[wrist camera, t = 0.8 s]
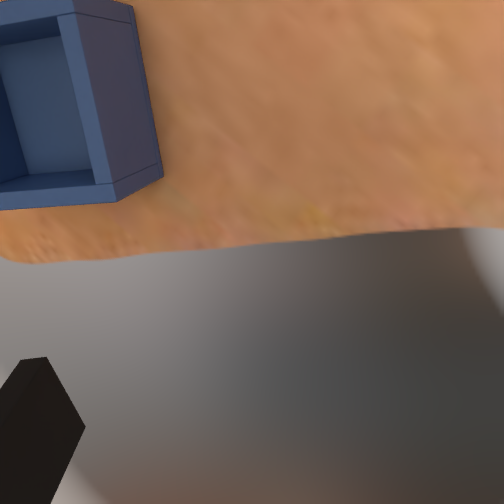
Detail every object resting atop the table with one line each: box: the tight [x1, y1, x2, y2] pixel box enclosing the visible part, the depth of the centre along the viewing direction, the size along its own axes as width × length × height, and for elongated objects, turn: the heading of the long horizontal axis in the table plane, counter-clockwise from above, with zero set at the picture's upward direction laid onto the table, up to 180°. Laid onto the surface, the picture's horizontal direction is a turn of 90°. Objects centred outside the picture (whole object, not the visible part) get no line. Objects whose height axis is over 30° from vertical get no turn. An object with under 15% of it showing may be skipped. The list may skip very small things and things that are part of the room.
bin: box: [0, 0, 164, 210], centre depth 32 cm, size 12×12×8 cm
